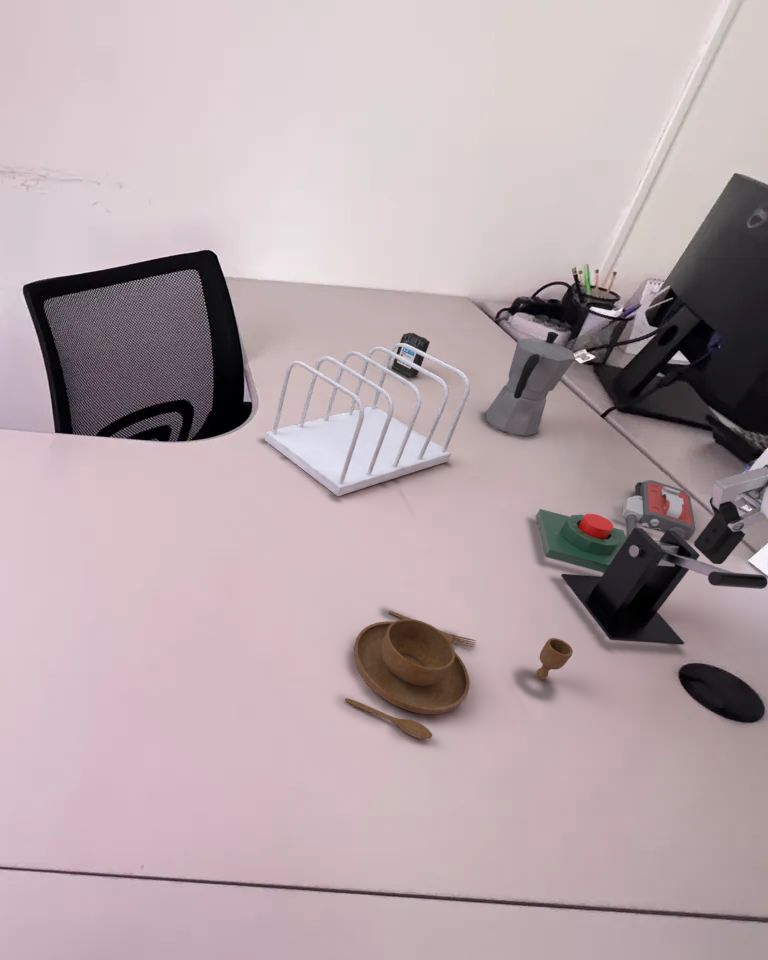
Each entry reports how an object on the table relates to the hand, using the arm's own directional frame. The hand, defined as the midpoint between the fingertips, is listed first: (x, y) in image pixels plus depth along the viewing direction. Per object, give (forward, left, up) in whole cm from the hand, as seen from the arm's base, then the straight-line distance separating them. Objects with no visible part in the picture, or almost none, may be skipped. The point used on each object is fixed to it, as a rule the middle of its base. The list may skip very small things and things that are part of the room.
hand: (752, 558), depth 67 cm
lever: (+1, -4, -6) cm, 8 cm away
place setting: (+24, +13, -17) cm, 32 cm away
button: (+5, -21, -13) cm, 25 cm away
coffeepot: (+11, -57, -17) cm, 60 cm away
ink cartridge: (+30, -71, -17) cm, 79 cm away
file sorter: (+37, -33, -17) cm, 52 cm away
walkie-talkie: (-7, -33, -17) cm, 38 cm away
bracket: (+3, -9, -17) cm, 19 cm away
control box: (+5, -21, -17) cm, 27 cm away
